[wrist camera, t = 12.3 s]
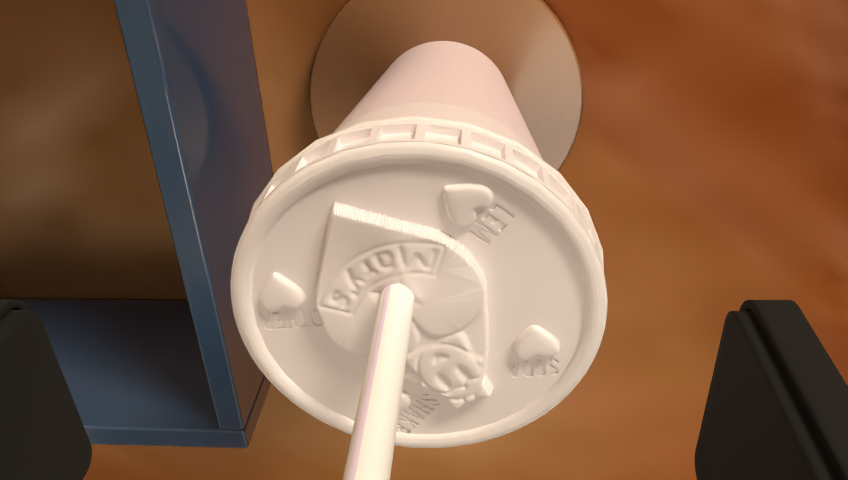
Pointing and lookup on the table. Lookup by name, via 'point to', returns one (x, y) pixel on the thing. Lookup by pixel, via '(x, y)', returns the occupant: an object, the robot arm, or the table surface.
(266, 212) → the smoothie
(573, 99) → the coaster
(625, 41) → the table surface
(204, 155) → the drawer
